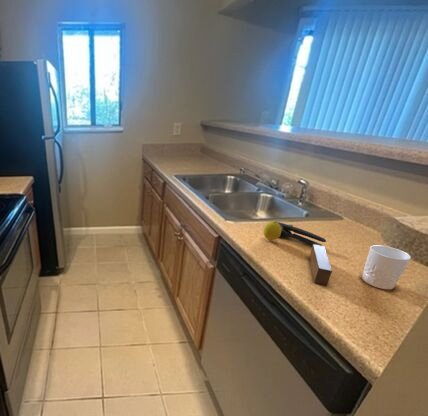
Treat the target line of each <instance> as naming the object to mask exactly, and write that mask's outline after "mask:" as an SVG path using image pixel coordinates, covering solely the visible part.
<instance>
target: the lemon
mask: <svg viewBox="0 0 428 416" xmlns="http://www.w3.org/2000/svg"><path fill="white" fill-rule="evenodd" d="M277 222H278V221H276V220H273V221H268V222H267V223H266V224H265V226H264V228H263V236H264V237H265V239H266V240H268V241H269V242H272V241H276V240H278V239H279V238H280V237H279V236H280V235H281V226H280V225H279V224H278V223H277Z"/></svg>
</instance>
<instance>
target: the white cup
mask: <svg viewBox="0 0 428 416" xmlns="http://www.w3.org/2000/svg"><path fill="white" fill-rule="evenodd" d="M411 259H412V257H411V255H410V254H409V253H407V252H405V251H403V250H402V249H398V248H395V247H392V246H388V245H382V244H381V245H380V244H374V245H371V246H370V247H369V251H368V254H367V258H366V260H365V263H364V268H363V272H362V275H361V279H362V281H364V282H365V283H366V284H368V285H369V286H372V287H375V288H378V289H380V290H381V289H382V290H393V289H394V288H395V287H396V285H397V283H398V281H399V280H400V279H401V277H402V275H403V274H404V271H405V270H406V268H407V266H408V264H409V262H410V261H411Z"/></svg>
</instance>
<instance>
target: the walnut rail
mask: <svg viewBox="0 0 428 416" xmlns="http://www.w3.org/2000/svg"><path fill="white" fill-rule="evenodd" d="M308 258H309V263H310V269H311V274H312V278H313V283H314V284H318V285H322V286H325V287H326V286H328V284H329V282H330V278H331V276H332V273H333V269H332V266H331V263H330V260H329V257H328V254H327V251H326V247H325V245H323V246H320V245H315V244H313V246H311V250H310V253H309V255H308Z"/></svg>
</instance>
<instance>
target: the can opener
mask: <svg viewBox="0 0 428 416" xmlns="http://www.w3.org/2000/svg"><path fill="white" fill-rule="evenodd" d="M276 222H277V223H278V224H279V225H280V226H281V235H280V236H279V238H292V239H294V240H297V241H299V242H301V243H303V244H305V245H308V246H311V247H312V246H313V244H315V245H320V246H324V245H323V244H322V243H326V242H327V240H326V239H325V238H324V237H322V236H319V235H318V234H315V233H312V232H310V231H309V230H308V231H307V230H305V229H302V228H300V227H296V226H294V225H293V224H287V223H283V222H280V221H276ZM312 239H313V240H312ZM314 240H315V241H314ZM317 241H318V242H317ZM319 242H321V243H319Z"/></svg>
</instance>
